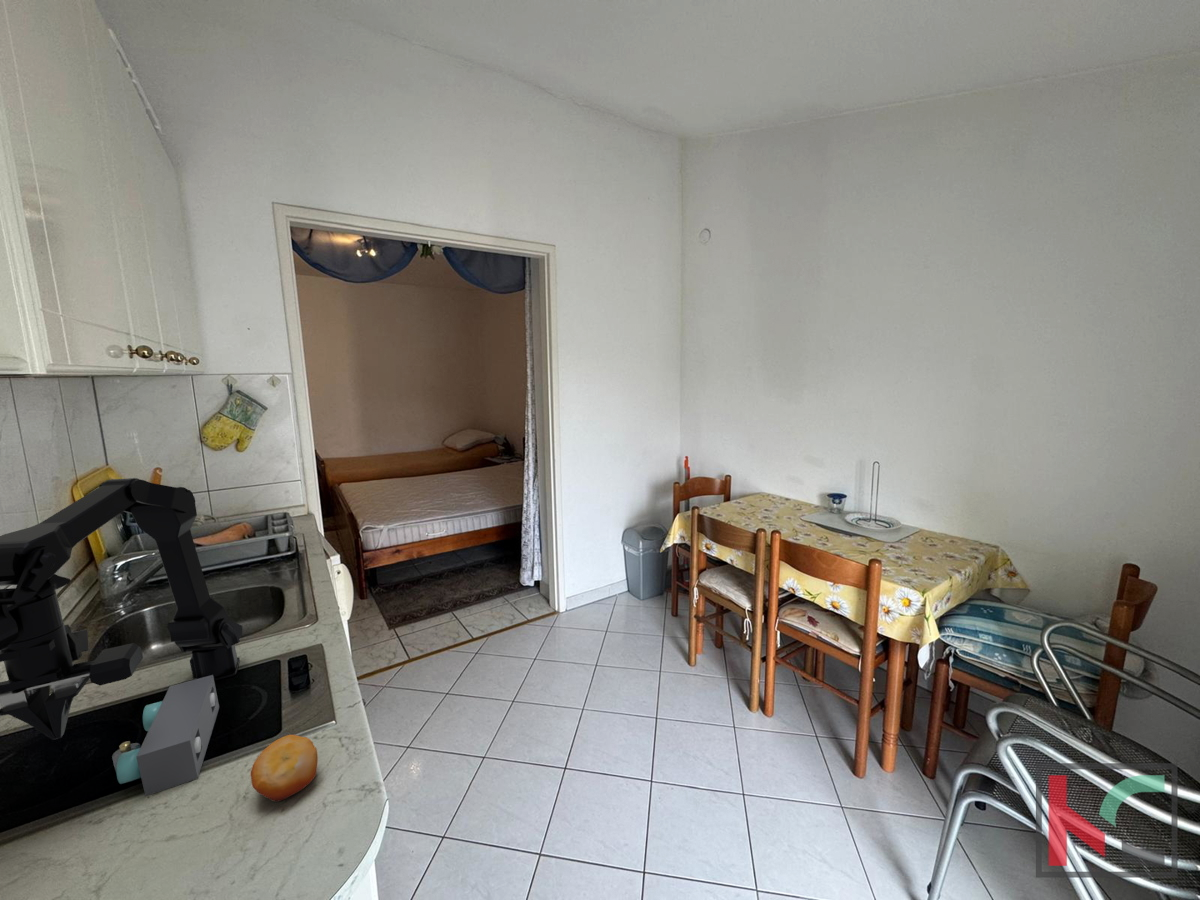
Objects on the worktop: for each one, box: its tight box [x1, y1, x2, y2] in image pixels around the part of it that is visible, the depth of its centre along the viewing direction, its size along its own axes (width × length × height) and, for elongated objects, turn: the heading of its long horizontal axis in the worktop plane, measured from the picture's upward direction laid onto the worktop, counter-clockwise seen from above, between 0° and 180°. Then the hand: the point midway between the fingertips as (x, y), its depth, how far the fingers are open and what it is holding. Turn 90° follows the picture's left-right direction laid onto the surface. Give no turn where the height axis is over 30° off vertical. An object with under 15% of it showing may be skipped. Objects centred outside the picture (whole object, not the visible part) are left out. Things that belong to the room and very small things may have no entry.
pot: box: [111, 740, 142, 773], centre depth 77 cm, size 3×3×4 cm
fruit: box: [250, 734, 319, 802], centre depth 72 cm, size 8×8×8 cm
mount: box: [136, 675, 220, 797], centre depth 80 cm, size 6×18×6 cm, turn 29°
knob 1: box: [142, 693, 215, 732], centre depth 85 cm, size 9×4×4 cm, turn 119°
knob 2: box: [116, 737, 201, 785], centre depth 74 cm, size 9×4×4 cm, turn 119°
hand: (58, 736), depth 68 cm, fingers closed
